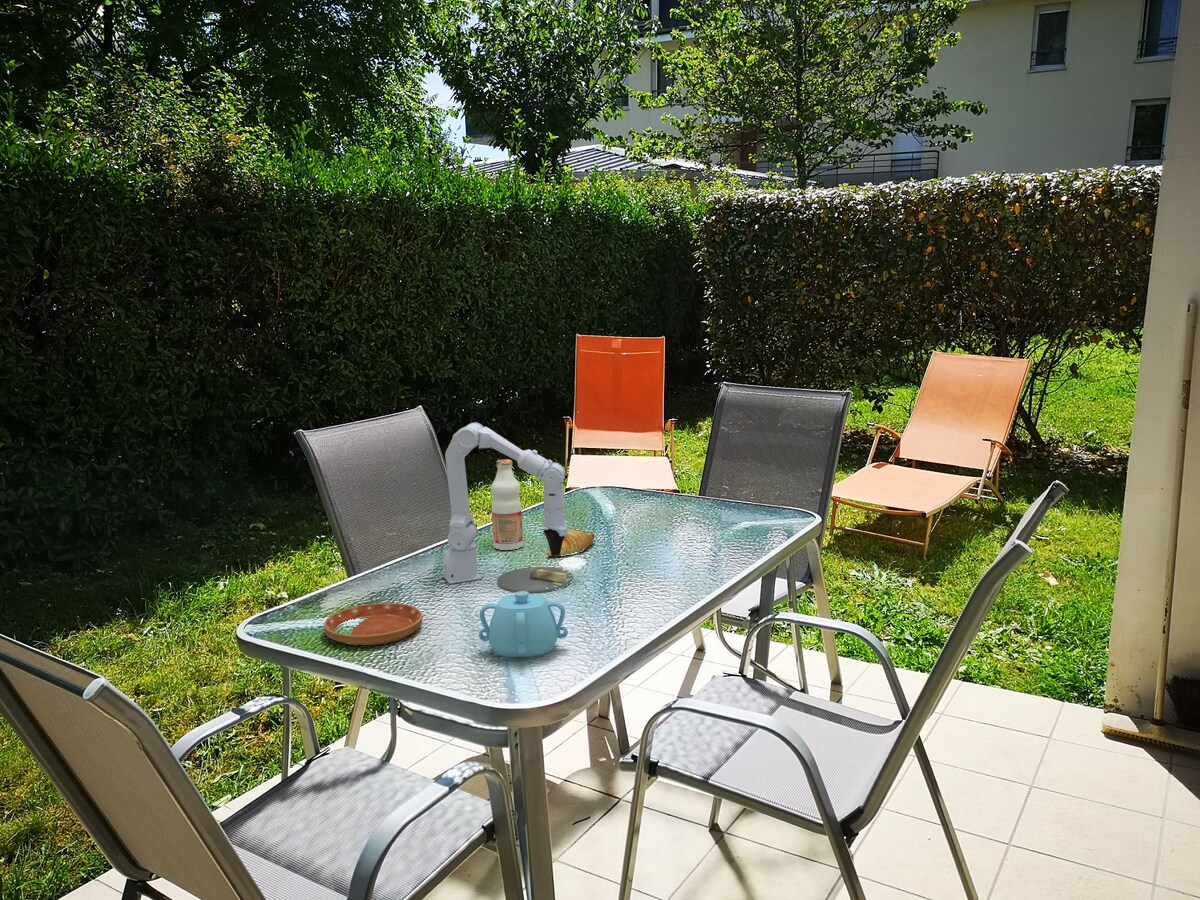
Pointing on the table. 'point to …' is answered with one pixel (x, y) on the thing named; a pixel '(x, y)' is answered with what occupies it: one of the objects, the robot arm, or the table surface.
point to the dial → (530, 581)
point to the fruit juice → (506, 508)
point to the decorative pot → (522, 625)
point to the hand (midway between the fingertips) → (555, 555)
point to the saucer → (375, 623)
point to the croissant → (574, 542)
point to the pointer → (547, 575)
